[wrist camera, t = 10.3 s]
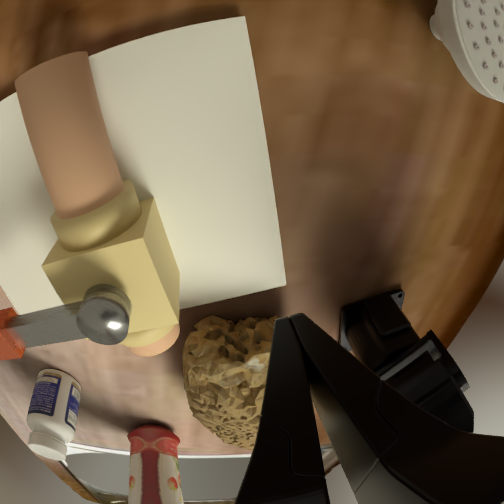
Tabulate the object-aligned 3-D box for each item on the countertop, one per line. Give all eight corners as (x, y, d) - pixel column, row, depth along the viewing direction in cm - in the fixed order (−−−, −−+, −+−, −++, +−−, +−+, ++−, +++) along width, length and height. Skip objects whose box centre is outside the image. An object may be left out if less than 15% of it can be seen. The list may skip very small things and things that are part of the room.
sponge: (166, 305, 25) (196, 443, 32) (182, 364, 18) (214, 495, 25) (308, 279, 29) (295, 416, 36) (358, 320, 22) (324, 459, 29)
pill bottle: (33, 379, 26) (17, 446, 19) (45, 360, 25) (25, 435, 17) (73, 399, 29) (63, 466, 21) (89, 383, 27) (78, 457, 20)
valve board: (283, 276, 24) (305, 332, 19) (38, 328, 23) (20, 379, 18) (242, 19, 14) (263, -5, 9) (-54, 142, 13) (-104, 171, 8)
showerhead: (468, -78, 5) (555, 28, 8) (399, -56, 11) (487, 20, 14) (441, 37, 9) (532, 134, 12) (363, 40, 15) (461, 108, 18)
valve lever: (119, 276, 14) (112, 304, 12) (140, 314, 15) (136, 343, 14) (-33, 316, 13) (-45, 337, 12) (-12, 343, 15) (-22, 364, 13)
